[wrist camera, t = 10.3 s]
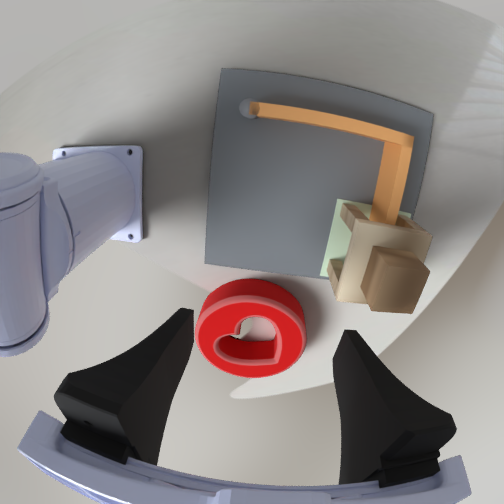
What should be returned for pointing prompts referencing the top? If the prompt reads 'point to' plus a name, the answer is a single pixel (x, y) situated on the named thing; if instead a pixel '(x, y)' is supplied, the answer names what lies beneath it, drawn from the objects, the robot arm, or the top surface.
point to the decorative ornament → (229, 323)
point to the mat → (296, 169)
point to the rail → (395, 142)
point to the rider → (381, 263)
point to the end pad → (343, 234)
